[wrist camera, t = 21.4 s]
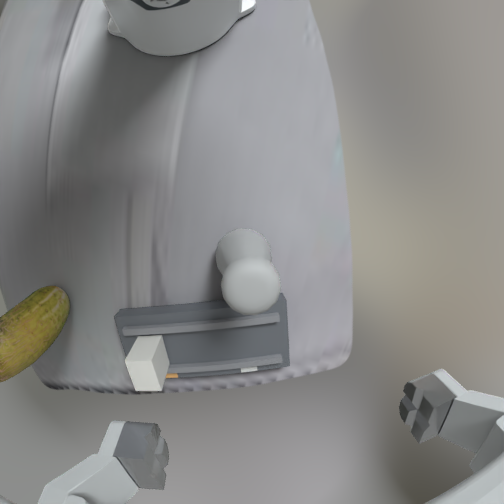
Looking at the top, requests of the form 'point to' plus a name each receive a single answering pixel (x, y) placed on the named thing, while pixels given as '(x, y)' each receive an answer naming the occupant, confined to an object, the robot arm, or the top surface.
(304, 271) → the top surface
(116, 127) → the top surface
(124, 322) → the switch plate
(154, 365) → the slider knob
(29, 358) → the vegetable
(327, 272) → the top surface
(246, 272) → the salt shaker
